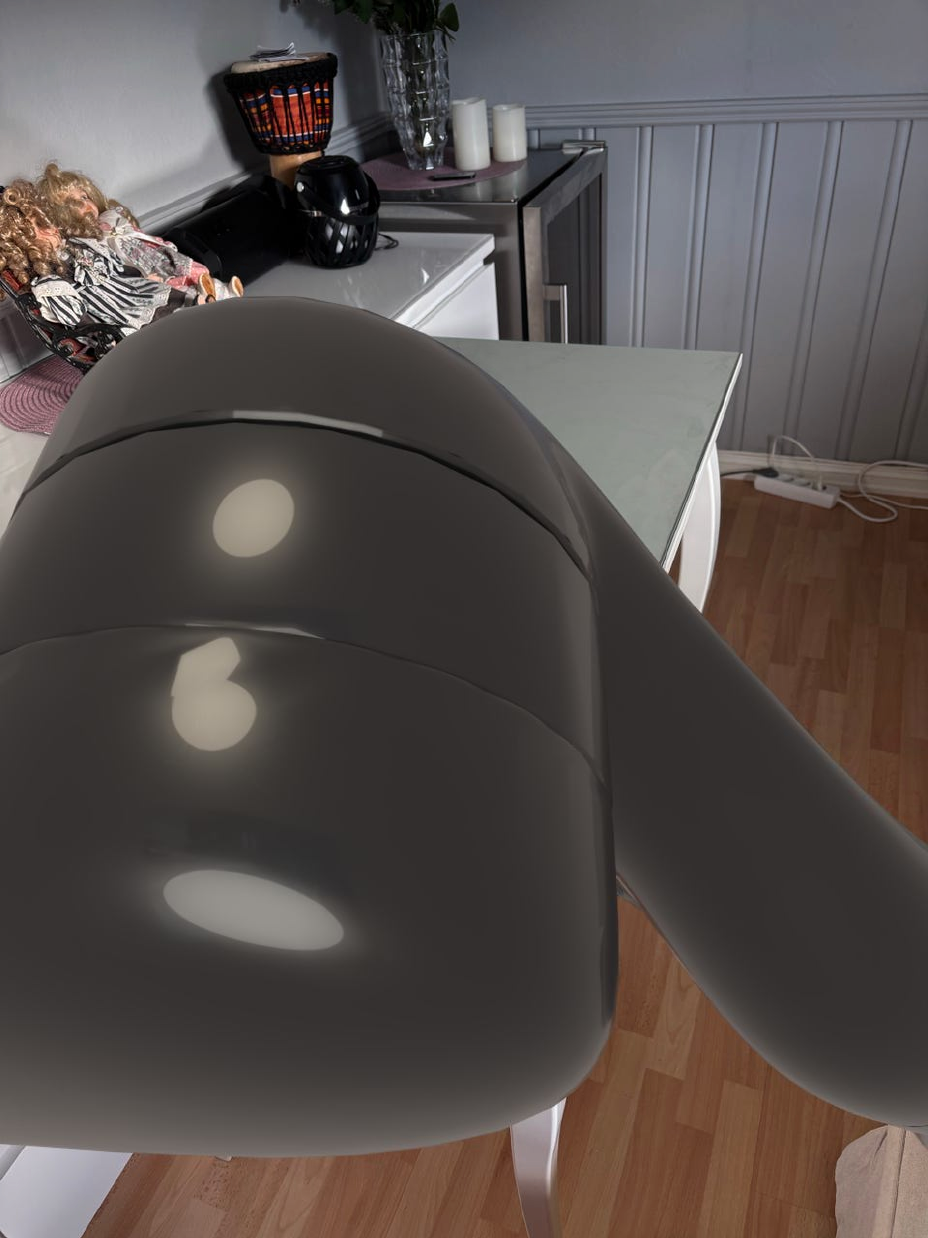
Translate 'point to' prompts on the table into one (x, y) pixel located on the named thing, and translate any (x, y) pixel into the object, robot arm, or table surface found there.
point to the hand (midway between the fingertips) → (406, 666)
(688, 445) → the table surface
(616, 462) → the table surface
